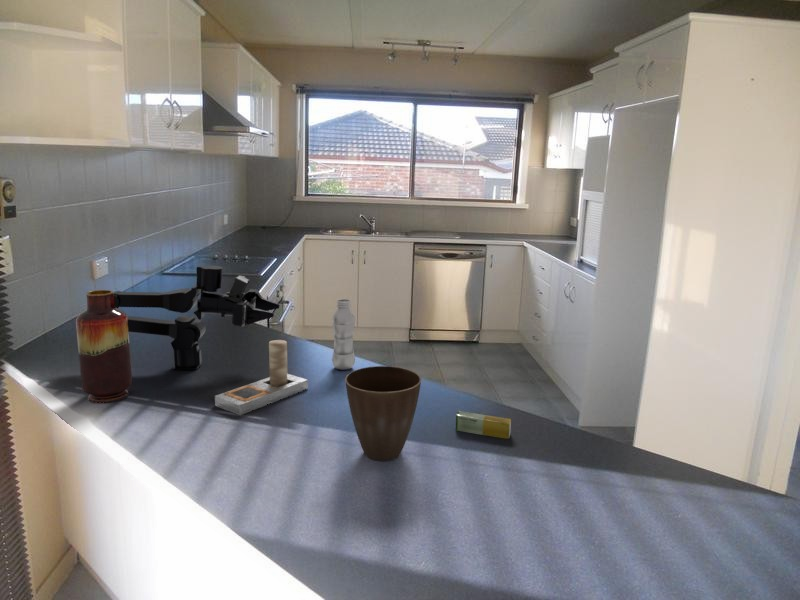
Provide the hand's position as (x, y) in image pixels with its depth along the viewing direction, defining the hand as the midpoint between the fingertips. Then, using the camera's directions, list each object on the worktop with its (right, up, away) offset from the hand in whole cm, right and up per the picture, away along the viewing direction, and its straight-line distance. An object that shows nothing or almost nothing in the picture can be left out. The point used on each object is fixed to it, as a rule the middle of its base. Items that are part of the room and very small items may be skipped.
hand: (276, 310), depth 168 cm
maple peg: (+4, -20, -15) cm, 25 cm away
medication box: (+53, -27, -36) cm, 69 cm away
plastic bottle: (+18, -17, +4) cm, 25 cm away
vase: (-37, -21, -21) cm, 47 cm away
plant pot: (+31, -28, -46) cm, 62 cm away
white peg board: (+1, -21, -19) cm, 28 cm away
